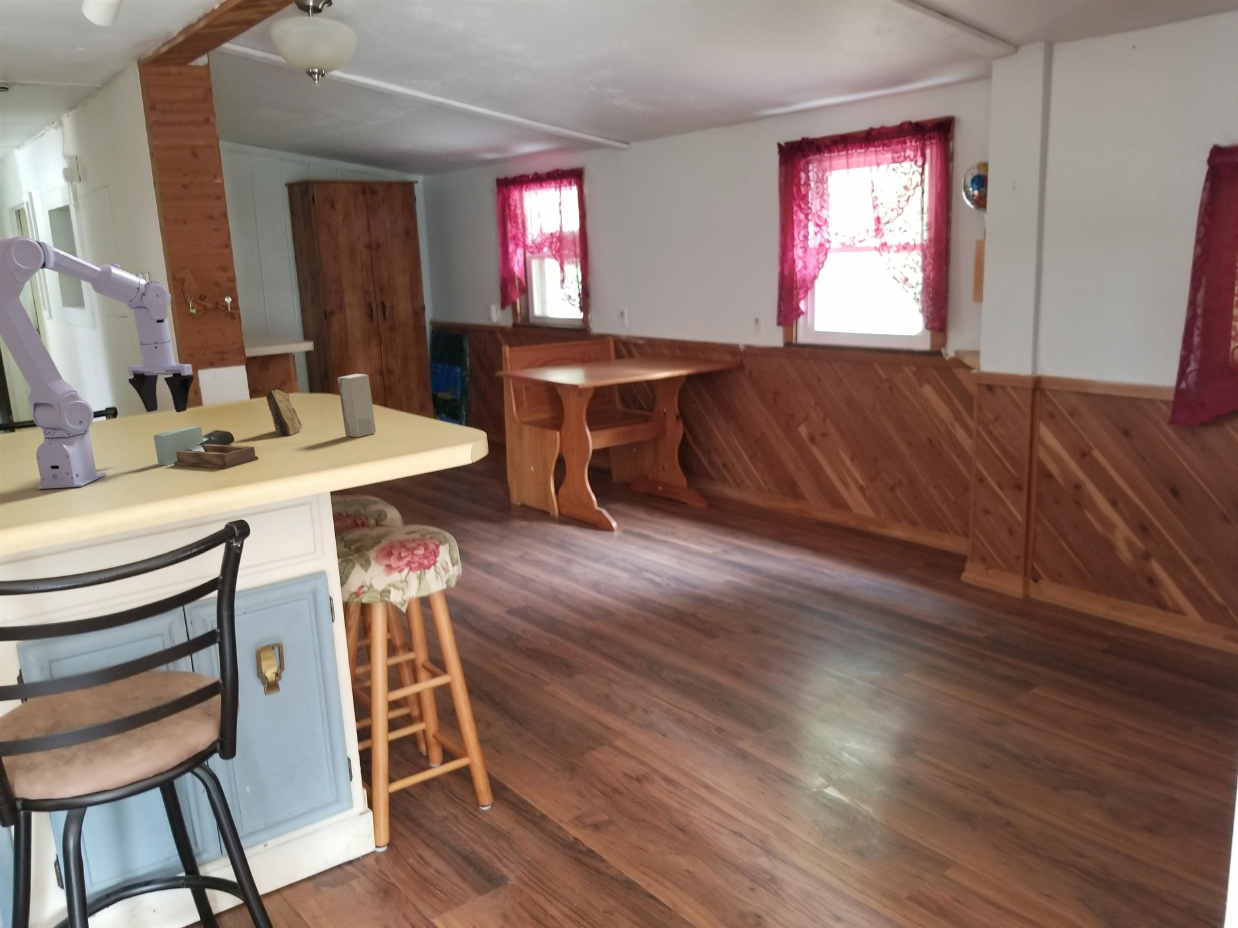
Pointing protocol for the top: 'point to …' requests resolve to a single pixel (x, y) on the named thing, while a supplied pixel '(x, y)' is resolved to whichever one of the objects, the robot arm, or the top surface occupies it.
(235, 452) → the floor track
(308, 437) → the top surface
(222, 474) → the top surface
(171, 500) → the top surface
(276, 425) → the rock
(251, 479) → the top surface
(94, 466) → the robot arm
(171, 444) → the pale teal block
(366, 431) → the box
